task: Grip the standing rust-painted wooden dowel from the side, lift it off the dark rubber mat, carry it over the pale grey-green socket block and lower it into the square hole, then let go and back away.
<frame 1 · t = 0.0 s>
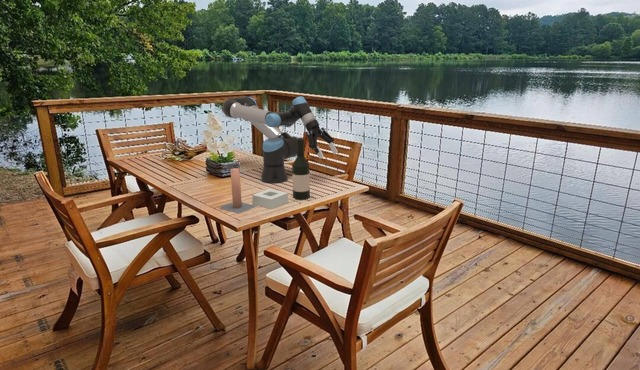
hand: (329, 155, 231), 15 cm above the table, tool tilted 35°, fingers open, 13 cm apart
mat: (237, 207, 195), on the table
wine bottle: (301, 197, 210), on the table
socket block: (270, 203, 200), on the table
dowel: (237, 206, 195), resting on mat
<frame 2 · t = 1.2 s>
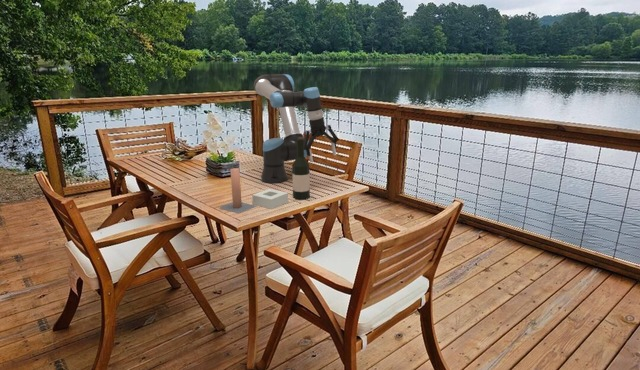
hand: (323, 158, 221), 16 cm above the table, tool pointing down, fingers open, 13 cm apart
nothing on the table moved.
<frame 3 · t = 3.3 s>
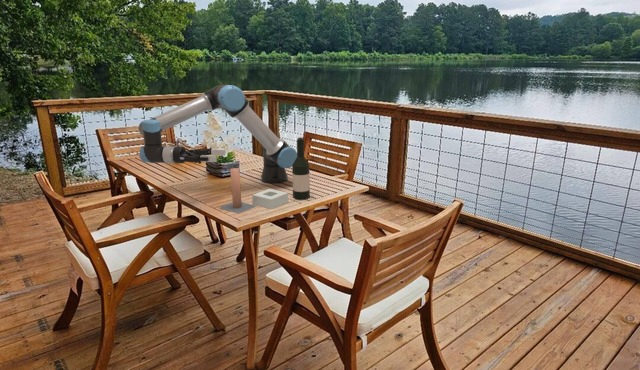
hand: (220, 155, 191), 24 cm above the table, tool horizontal, fingers open, 13 cm apart
nothing on the table moved.
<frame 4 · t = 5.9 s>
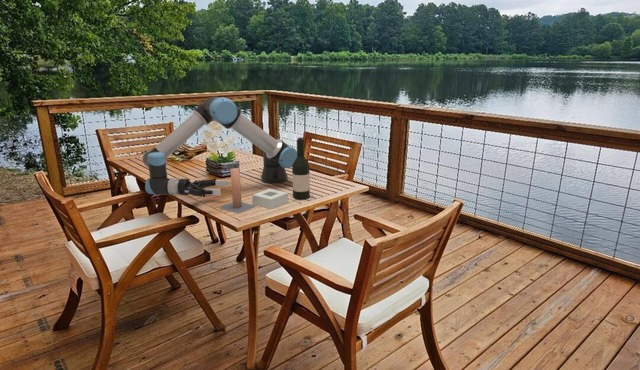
hand: (225, 187, 193), 10 cm above the table, tool horizontal, fingers open, 13 cm apart
nothing on the table moved.
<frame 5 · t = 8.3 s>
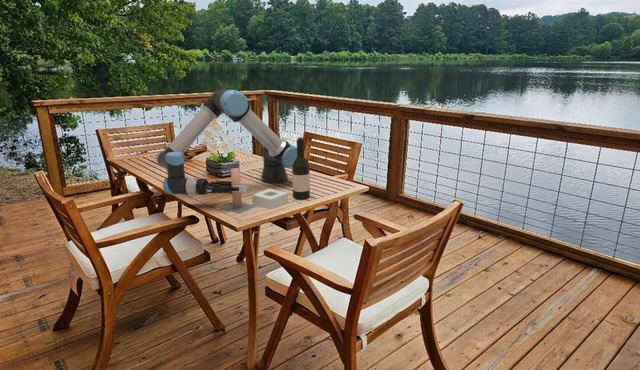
hand: (247, 187, 192), 10 cm above the table, tool horizontal, fingers closed on dowel, 4 cm apart
dowel: (237, 206, 195), resting on mat, touching gripper
everything else where it was.
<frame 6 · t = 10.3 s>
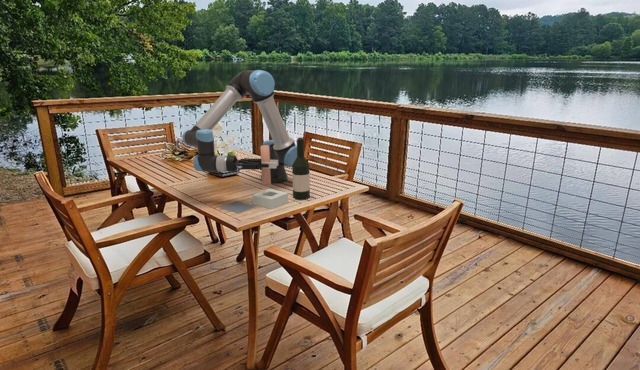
hand: (277, 164, 194), 20 cm above the table, tool horizontal, fingers closed on dowel, 4 cm apart
dowel: (266, 183, 197), point 10 cm above the table, touching gripper
everything else where it was.
when the fingers open (11 cm above the table, at t = 12.7 s): dowel drops 2 cm, resting in socket block.
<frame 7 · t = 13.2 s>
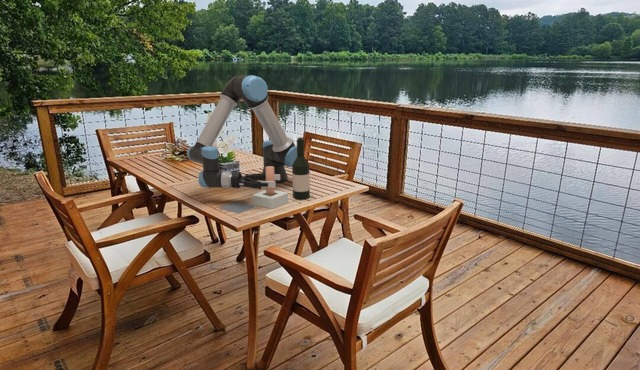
hand: (277, 180, 197), 11 cm above the table, tool horizontal, fingers open, 11 cm apart
dowel: (270, 203, 200), resting in socket block
everything else where it was.
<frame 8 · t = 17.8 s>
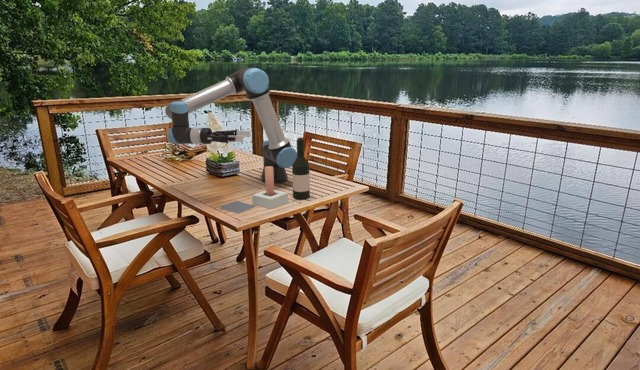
hand: (246, 136, 195), 32 cm above the table, tool horizontal, fingers open, 13 cm apart
nothing on the table moved.
at the end: dowel 0.0 cm off-centre on the socket block, point 0.0 cm above the socket block's base; dowel tilted 0°; the gripper is holding nothing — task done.
